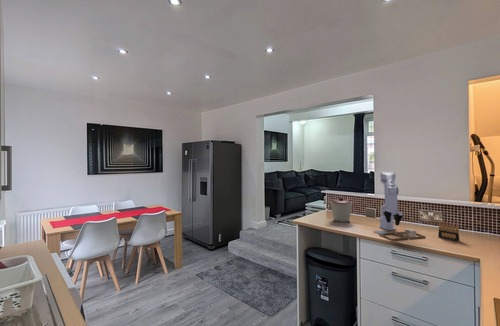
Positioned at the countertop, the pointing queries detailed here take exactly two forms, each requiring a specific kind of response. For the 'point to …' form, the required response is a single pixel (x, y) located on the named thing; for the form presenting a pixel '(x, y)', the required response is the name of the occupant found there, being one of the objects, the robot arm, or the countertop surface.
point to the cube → (410, 232)
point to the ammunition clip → (444, 231)
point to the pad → (381, 232)
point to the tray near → (394, 234)
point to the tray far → (411, 237)
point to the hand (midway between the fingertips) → (392, 223)
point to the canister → (341, 209)
